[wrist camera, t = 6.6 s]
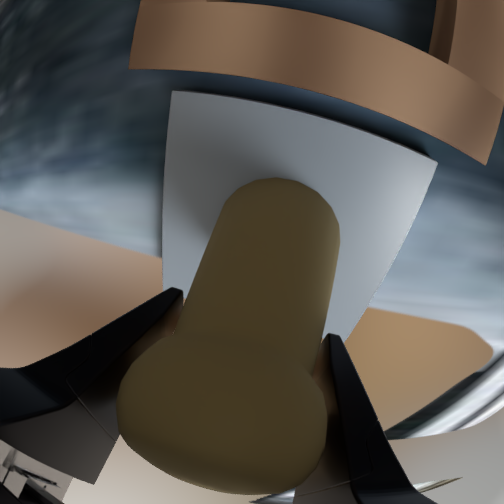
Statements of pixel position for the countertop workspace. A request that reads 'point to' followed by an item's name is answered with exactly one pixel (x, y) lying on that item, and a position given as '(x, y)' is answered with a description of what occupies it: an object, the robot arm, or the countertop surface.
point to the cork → (243, 350)
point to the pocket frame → (344, 60)
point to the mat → (293, 168)
